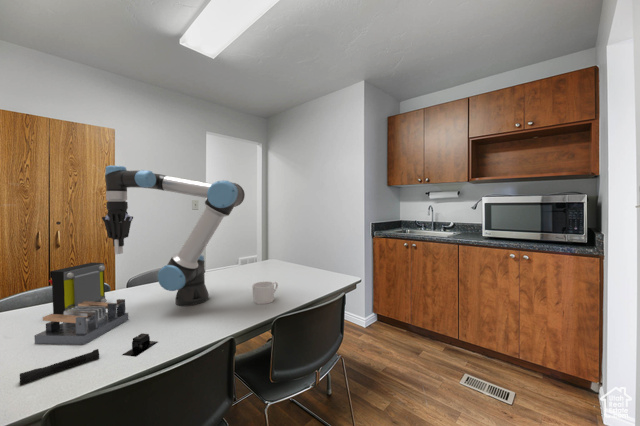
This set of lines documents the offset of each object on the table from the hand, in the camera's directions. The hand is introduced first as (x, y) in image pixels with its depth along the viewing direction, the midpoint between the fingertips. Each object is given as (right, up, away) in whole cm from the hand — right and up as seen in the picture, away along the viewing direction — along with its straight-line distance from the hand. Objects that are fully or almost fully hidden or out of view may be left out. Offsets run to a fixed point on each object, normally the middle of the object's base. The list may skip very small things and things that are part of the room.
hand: (118, 253), depth 120 cm
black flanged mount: (+30, -28, -30) cm, 51 cm away
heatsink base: (0, -27, -17) cm, 32 cm away
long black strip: (+15, -28, -42) cm, 52 cm away
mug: (+63, -26, +14) cm, 70 cm away
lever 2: (0, -20, -11) cm, 23 cm away
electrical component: (-21, -27, +4) cm, 34 cm away
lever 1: (-1, -20, -24) cm, 31 cm away
